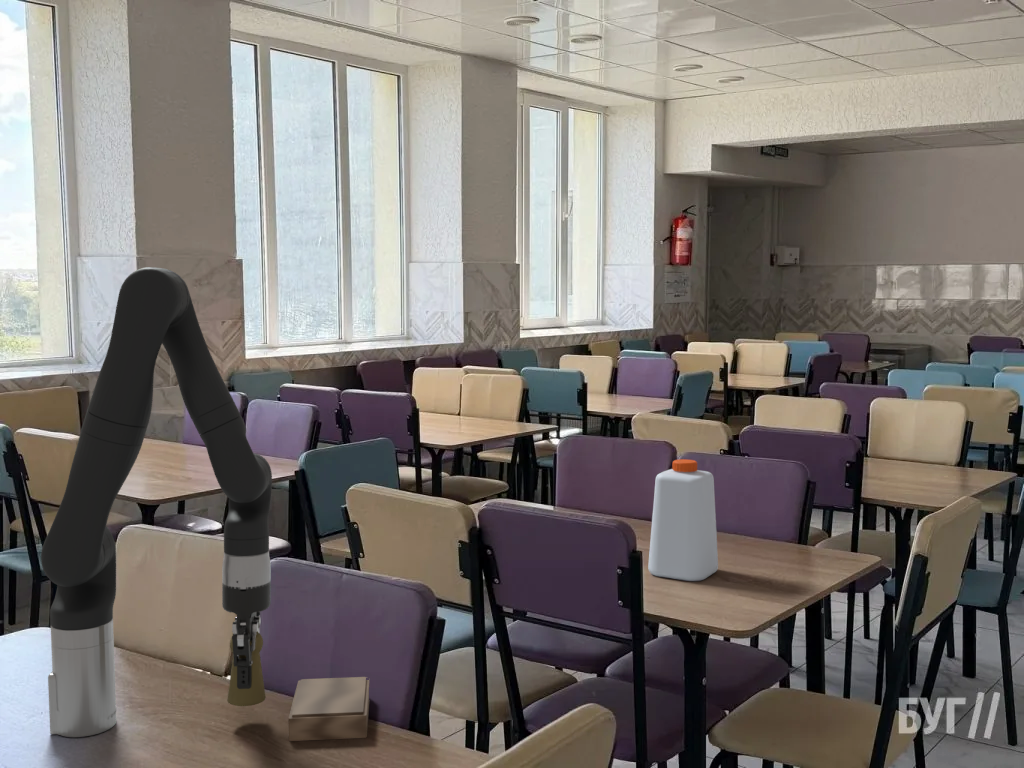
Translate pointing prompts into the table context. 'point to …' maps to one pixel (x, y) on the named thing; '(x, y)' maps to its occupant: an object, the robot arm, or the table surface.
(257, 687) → the cork
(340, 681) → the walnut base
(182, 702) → the table surface
